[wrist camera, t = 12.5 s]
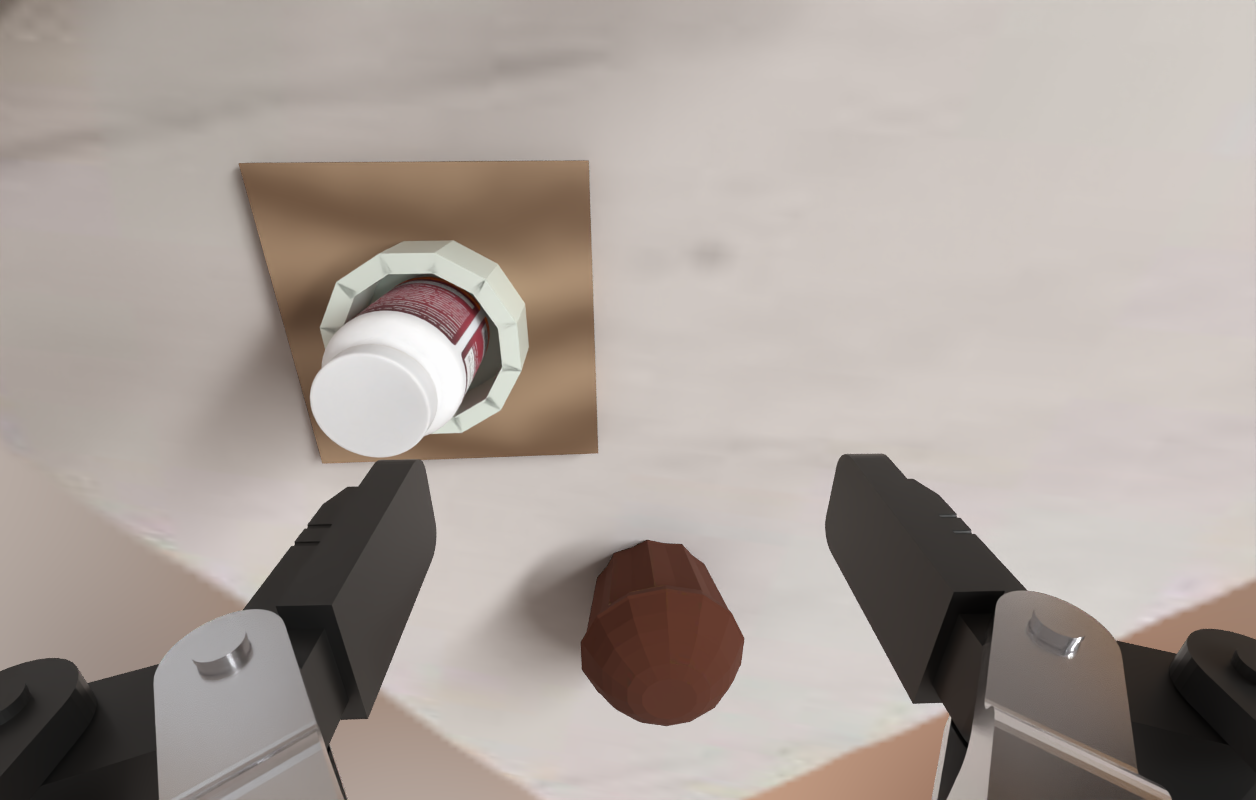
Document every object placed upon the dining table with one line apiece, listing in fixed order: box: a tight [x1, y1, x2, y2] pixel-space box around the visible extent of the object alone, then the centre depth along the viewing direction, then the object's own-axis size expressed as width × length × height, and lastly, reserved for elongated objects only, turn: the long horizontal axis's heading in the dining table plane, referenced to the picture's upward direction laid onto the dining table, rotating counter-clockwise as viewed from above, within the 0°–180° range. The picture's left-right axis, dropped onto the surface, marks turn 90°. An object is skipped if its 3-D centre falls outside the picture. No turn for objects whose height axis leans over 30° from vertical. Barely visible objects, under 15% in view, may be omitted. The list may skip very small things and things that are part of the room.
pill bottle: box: [310, 276, 490, 457], centre depth 27 cm, size 6×6×11 cm
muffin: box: [581, 540, 744, 726], centre depth 39 cm, size 12×11×10 cm
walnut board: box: [239, 161, 598, 463], centre depth 33 cm, size 18×18×1 cm
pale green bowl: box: [320, 240, 529, 434], centre depth 31 cm, size 10×10×4 cm
